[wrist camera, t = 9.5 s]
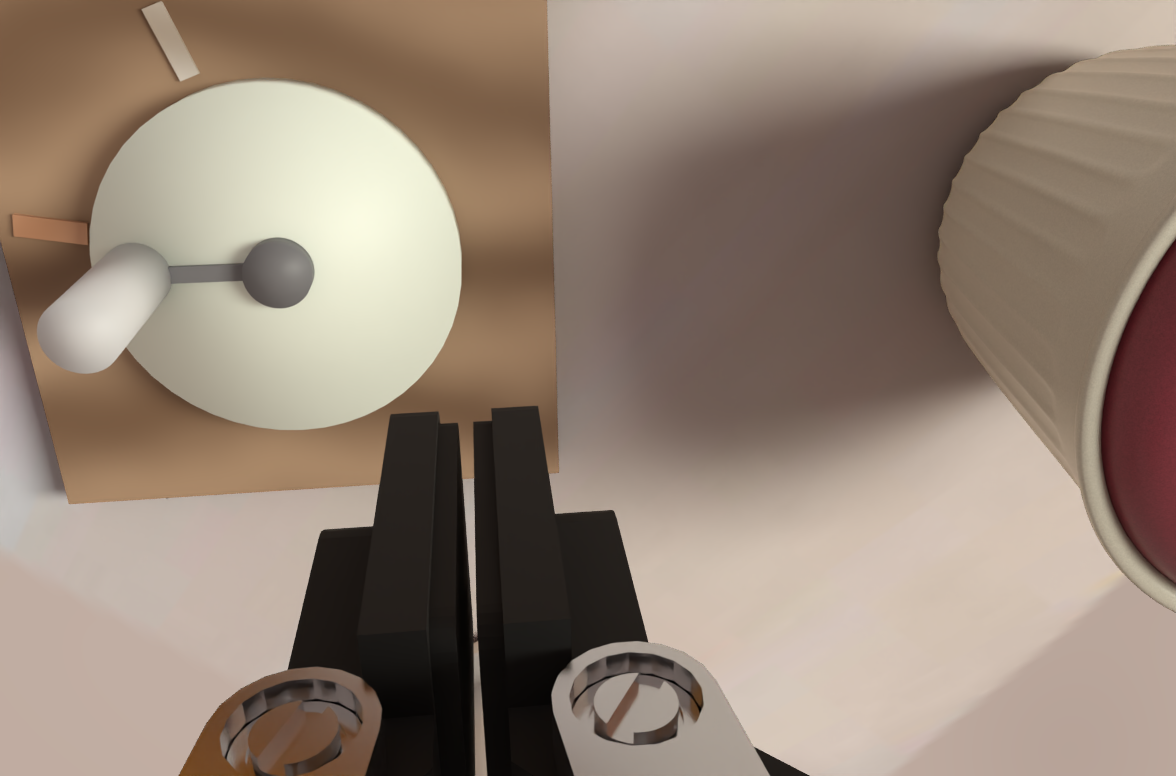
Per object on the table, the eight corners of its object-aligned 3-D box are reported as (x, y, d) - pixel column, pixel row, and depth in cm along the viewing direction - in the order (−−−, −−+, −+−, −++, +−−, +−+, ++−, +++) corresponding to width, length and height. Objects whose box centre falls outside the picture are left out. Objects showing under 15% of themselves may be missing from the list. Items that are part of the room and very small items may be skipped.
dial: (450, 73, 36) (447, 108, 29) (470, 404, 41) (472, 498, 35) (67, 81, 35) (-29, 120, 28) (140, 422, 40) (74, 523, 33)
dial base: (555, 456, 45) (559, 475, 43) (81, 485, 43) (67, 506, 41) (542, -38, 36) (546, -36, 35) (-49, -29, 34) (-73, -27, 33)
